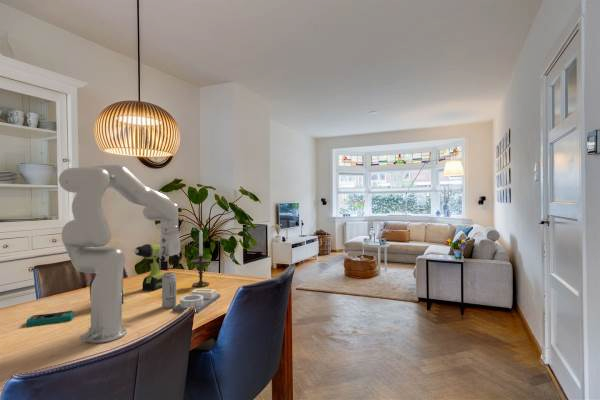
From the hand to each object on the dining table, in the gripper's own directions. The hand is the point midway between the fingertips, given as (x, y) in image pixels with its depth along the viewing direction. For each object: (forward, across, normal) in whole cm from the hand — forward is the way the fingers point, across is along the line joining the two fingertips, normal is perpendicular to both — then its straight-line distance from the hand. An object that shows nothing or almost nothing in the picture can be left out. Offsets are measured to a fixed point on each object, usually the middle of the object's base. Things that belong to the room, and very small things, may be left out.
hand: (170, 267), depth 150 cm
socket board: (+18, +5, -11) cm, 21 cm away
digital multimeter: (+18, -25, +37) cm, 48 cm away
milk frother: (+18, -5, +26) cm, 32 cm away
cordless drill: (+18, +23, +26) cm, 39 cm away
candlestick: (+19, +37, +3) cm, 42 cm away
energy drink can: (+18, -1, 0) cm, 18 cm away
